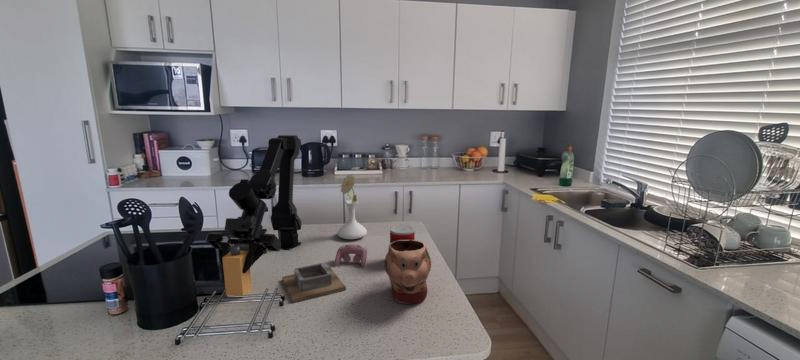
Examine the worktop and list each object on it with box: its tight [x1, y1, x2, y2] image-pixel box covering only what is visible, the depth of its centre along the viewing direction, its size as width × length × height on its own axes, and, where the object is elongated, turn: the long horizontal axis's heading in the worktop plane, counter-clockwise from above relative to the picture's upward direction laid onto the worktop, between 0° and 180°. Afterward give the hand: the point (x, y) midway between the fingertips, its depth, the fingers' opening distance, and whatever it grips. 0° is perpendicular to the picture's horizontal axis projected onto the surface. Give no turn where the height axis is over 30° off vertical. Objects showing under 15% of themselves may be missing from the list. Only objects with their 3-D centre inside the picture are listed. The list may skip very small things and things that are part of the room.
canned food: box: [389, 224, 416, 245], centre depth 115 cm, size 8×8×11 cm
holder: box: [281, 263, 347, 304], centre depth 100 cm, size 14×14×4 cm
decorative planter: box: [384, 239, 432, 304], centre depth 95 cm, size 20×12×14 cm, turn 8°
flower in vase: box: [336, 173, 368, 240], centre depth 135 cm, size 13×11×25 cm
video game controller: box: [334, 243, 368, 268], centre depth 114 cm, size 10×5×7 cm, turn 85°
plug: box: [222, 245, 253, 296], centre depth 95 cm, size 5×5×13 cm
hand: (234, 272), depth 93 cm, fingers closed on plug, 5 cm apart
